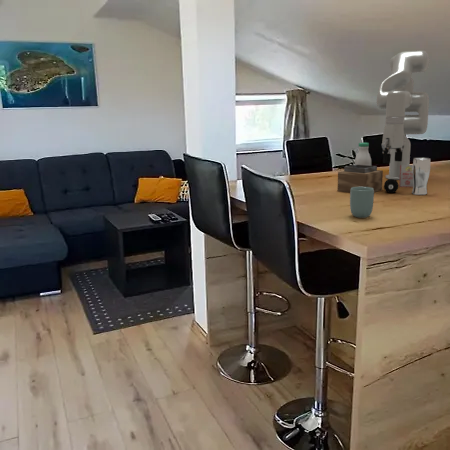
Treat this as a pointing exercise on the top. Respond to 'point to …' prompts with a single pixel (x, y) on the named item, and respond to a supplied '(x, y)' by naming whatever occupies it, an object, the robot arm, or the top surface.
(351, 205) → the cup
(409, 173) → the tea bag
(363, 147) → the milk bottle
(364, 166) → the housing
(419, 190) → the beer glass
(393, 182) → the billiard ball
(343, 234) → the top surface
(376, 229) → the top surface
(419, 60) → the robot arm
